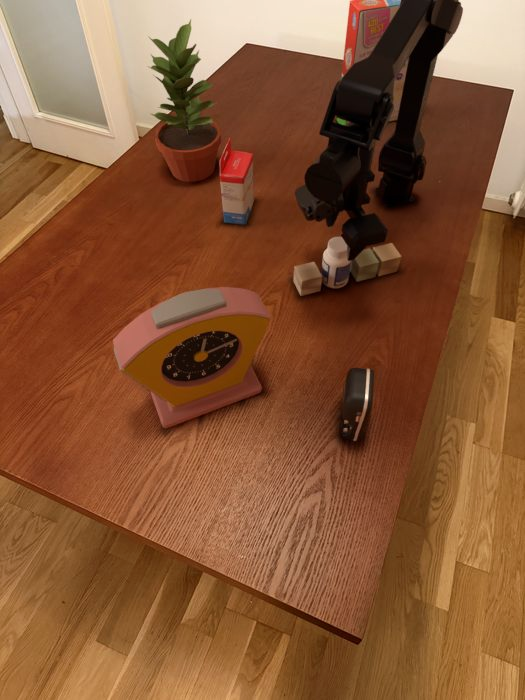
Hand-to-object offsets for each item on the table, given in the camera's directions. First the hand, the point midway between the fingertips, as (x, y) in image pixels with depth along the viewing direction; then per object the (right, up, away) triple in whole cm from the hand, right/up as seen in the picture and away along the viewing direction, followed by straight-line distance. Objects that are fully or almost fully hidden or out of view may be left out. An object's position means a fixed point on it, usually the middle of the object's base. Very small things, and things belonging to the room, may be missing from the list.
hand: (339, 242), depth 88 cm
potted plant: (-30, +23, +29) cm, 48 cm away
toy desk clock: (-23, -25, -6) cm, 35 cm away
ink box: (-19, +11, +20) cm, 29 cm away
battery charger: (0, -30, -10) cm, 32 cm away
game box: (+16, +40, +41) cm, 60 cm away
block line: (+2, -5, +8) cm, 10 cm away
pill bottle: (0, -5, +8) cm, 10 cm away
